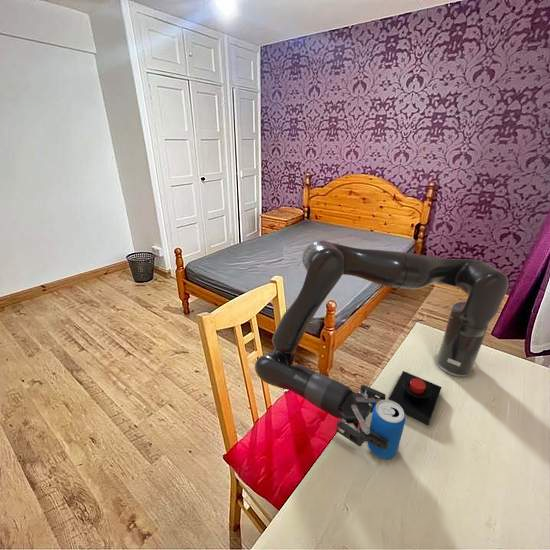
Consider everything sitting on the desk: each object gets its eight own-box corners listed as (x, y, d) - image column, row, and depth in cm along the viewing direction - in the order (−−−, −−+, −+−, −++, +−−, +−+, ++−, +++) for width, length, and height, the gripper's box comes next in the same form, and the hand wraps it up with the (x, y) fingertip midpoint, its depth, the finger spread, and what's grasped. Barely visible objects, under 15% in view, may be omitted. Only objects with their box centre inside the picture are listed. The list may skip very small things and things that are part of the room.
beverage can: (398, 464, 66) (409, 426, 60) (367, 458, 67) (375, 421, 62) (394, 436, 71) (403, 400, 66) (366, 432, 73) (372, 395, 67)
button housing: (387, 405, 79) (389, 393, 77) (401, 377, 88) (404, 365, 86) (428, 426, 74) (432, 413, 72) (439, 394, 82) (443, 381, 80)
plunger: (407, 389, 79) (408, 384, 78) (411, 381, 81) (412, 376, 80) (422, 396, 77) (423, 391, 76) (425, 387, 79) (427, 382, 78)
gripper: (312, 402, 67) (386, 444, 58) (341, 365, 77) (408, 396, 68) (311, 425, 70) (380, 468, 62) (339, 387, 81) (402, 418, 72)
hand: (394, 430), depth 65 cm, fingers open, 8 cm apart
